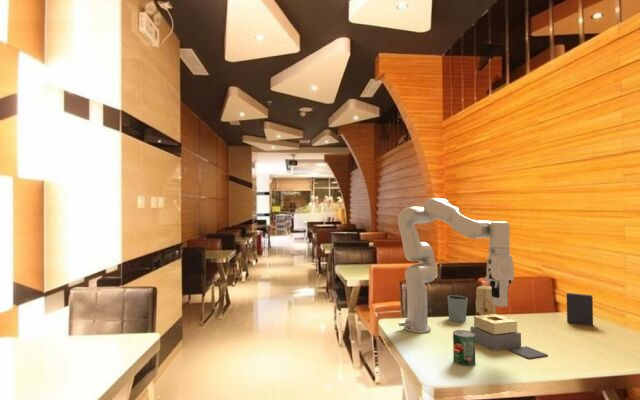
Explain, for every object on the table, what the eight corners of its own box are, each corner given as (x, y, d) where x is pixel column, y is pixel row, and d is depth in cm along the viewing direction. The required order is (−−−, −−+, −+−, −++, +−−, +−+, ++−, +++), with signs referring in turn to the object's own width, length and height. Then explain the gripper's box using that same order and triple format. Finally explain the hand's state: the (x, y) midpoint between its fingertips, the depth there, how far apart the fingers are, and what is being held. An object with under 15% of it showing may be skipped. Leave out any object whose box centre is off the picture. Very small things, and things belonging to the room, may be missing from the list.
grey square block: (494, 351, 154) (494, 336, 154) (470, 340, 167) (470, 326, 167) (521, 347, 158) (520, 333, 158) (496, 337, 171) (495, 323, 172)
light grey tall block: (499, 306, 149) (499, 279, 149) (492, 304, 153) (492, 277, 153) (507, 306, 150) (507, 278, 150) (500, 303, 154) (500, 276, 154)
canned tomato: (480, 363, 140) (479, 334, 141) (466, 368, 136) (466, 337, 137) (461, 357, 147) (461, 328, 148) (448, 361, 143) (448, 332, 143)
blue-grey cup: (443, 318, 202) (443, 296, 203) (458, 316, 206) (457, 294, 207) (457, 323, 193) (457, 299, 193) (472, 321, 197) (471, 298, 197)
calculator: (592, 324, 192) (591, 294, 193) (593, 326, 188) (592, 296, 189) (567, 320, 198) (566, 292, 199) (567, 322, 194) (566, 293, 195)
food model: (491, 324, 192) (491, 284, 192) (499, 328, 185) (498, 287, 186) (473, 324, 191) (473, 285, 192) (479, 328, 184) (479, 287, 185)
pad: (528, 359, 145) (528, 357, 145) (508, 350, 155) (508, 348, 155) (547, 356, 148) (547, 354, 148) (526, 347, 158) (526, 346, 158)
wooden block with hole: (494, 334, 155) (494, 323, 155) (474, 326, 167) (474, 316, 167) (520, 331, 159) (519, 320, 160) (498, 323, 171) (498, 313, 171)
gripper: (489, 253, 146) (489, 300, 146) (523, 252, 151) (523, 297, 151) (476, 251, 153) (476, 296, 153) (508, 250, 158) (509, 293, 158)
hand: (499, 296), depth 152 cm, fingers closed on light grey tall block, 4 cm apart
